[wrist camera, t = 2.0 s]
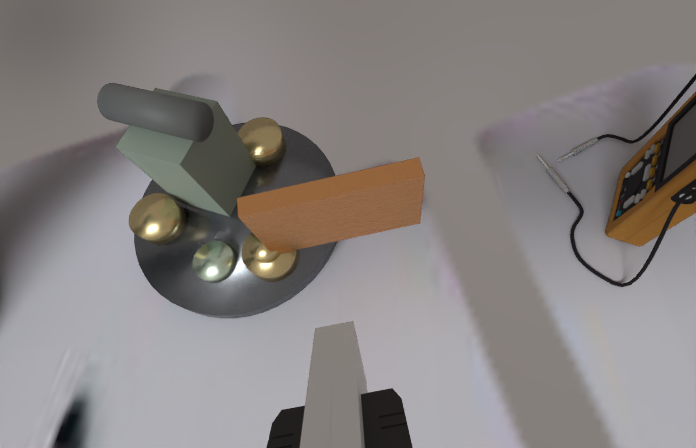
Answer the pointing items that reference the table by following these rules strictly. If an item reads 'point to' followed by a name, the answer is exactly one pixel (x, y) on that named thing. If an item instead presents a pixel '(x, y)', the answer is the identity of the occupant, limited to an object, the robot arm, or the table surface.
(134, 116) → the wedge with rod handle
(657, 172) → the multimeter
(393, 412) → the robot arm
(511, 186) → the table surface
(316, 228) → the lever
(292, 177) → the tribrach plate
